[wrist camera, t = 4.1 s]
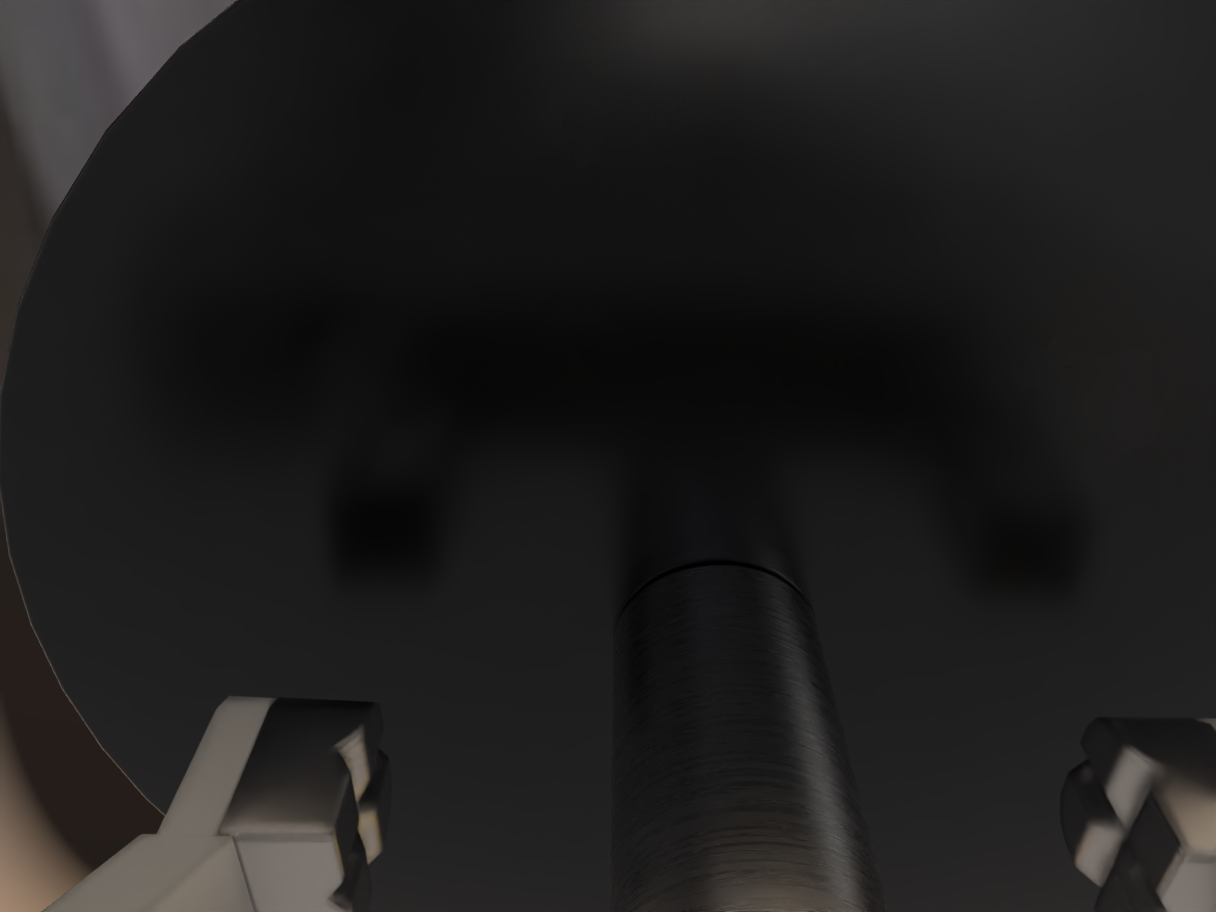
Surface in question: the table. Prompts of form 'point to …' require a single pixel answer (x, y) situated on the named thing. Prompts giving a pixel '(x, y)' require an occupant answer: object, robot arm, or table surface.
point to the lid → (644, 430)
